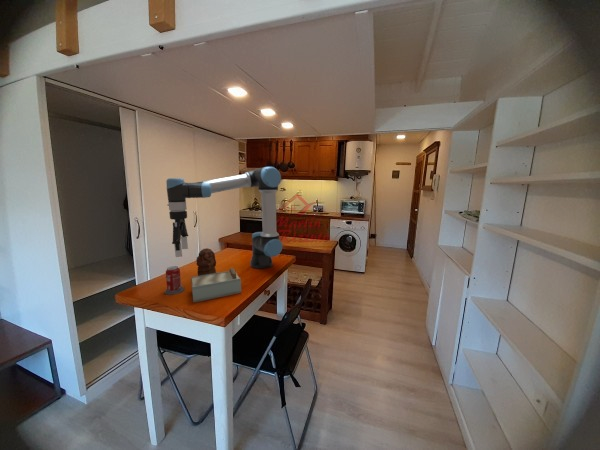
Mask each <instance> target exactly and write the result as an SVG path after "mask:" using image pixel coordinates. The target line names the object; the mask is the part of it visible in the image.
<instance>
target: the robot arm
mask: <svg viewBox="0 0 600 450" xmlns="http://www.w3.org/2000/svg"><path fill="white" fill-rule="evenodd" d="M281 182H282V175H281V173H280V171H279V169H277V168H275V167H274V166H264V167H259V168H256V169H252V170H249V171H245V172H244V173H243V174H237V175H231V176H226V177H220V178H214V179H207V180H203V181H197V182H185V180H184V178H178V177H177V178H176V177H175V178H173V177H172V178H167V179H166V182H165V183H166V193H167V194H166V195H167V202H168V203H167V205H166V206H168V210H169V219H170V220H174V222H173V221H172V242H171V244H172V245H174V253H175V258H179V257H180V258H181V257H183V250H188V249H189V246H188V237H189V234H188V230H187V225H186V219H187V218H188V212H187V207H188V206H187V201H186V200H187V199H191V198H192V199H201V198H202V199H205V198H206V199H207V198H210V197H211V196H212V194H214V193H215V194H217V193H220V192H227V191H231V190H237V189H240V188H241V189H242V188H244V187H245V188H246V187H247V188H255V187H257V188H258V192H259V193H260V196H261V199H260V200H261V223H262V231H256V232H254V233H252V235H251V245H252V246H251V247H252V255H251V259H250V262H249V264H250V267H251V268H253V269H257V270H259V269H268V268H270V267H272V266H273V259H272V258H275V257H277V256H279V255H280V253H281V252H282V250H283V243H282V241H281V240H280V234H279V232H277V198H276V197H277V196H276V194H277V192H278V191H279V185H280V184H281Z"/></svg>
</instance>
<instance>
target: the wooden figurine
mask: <svg viewBox="0 0 600 450" xmlns="http://www.w3.org/2000/svg"><path fill="white" fill-rule="evenodd" d="M215 255H216V254H215V252H214V251H213V250H212V249H211V248H208V247H207V248H202V249H201V250H200V251H199V252H198V256H196V260H195V261H196V266H197V276H201V275H207V274H214V273H217V270H216V266H217V260H216V256H215Z"/></svg>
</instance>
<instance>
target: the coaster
mask: <svg viewBox="0 0 600 450" xmlns="http://www.w3.org/2000/svg"><path fill="white" fill-rule="evenodd" d="M184 291H185V287H184V286H182V285H181V288H180V290H178V291H176V292H170V291H168V290H167V288H166V289H165V290H164V295H167V296H173V295H177V294H181V293H182V292H184Z"/></svg>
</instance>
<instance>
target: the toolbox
mask: <svg viewBox="0 0 600 450" xmlns="http://www.w3.org/2000/svg"><path fill="white" fill-rule="evenodd" d="M234 271H235V272H236V269H234ZM226 272H230V270H227V271H221V272H216V273H214V274H220V273H226ZM214 274H207V275H201V276H198V275H196V276H191V277H190V279H191V290H192V291H191V292H192V294H191V295H192V300H193V301H192V303H199V302H202V301H208V300H212V299H217V298H221V297H227V296H231V295H232V296H233V295H236V294H241V293H242V279H241V277H239V279H233V280H228V281H222V282H216V283H211V284H205V285H200V286H194V287H193V284H192V278H196V277H202V276H208V275H214Z"/></svg>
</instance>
